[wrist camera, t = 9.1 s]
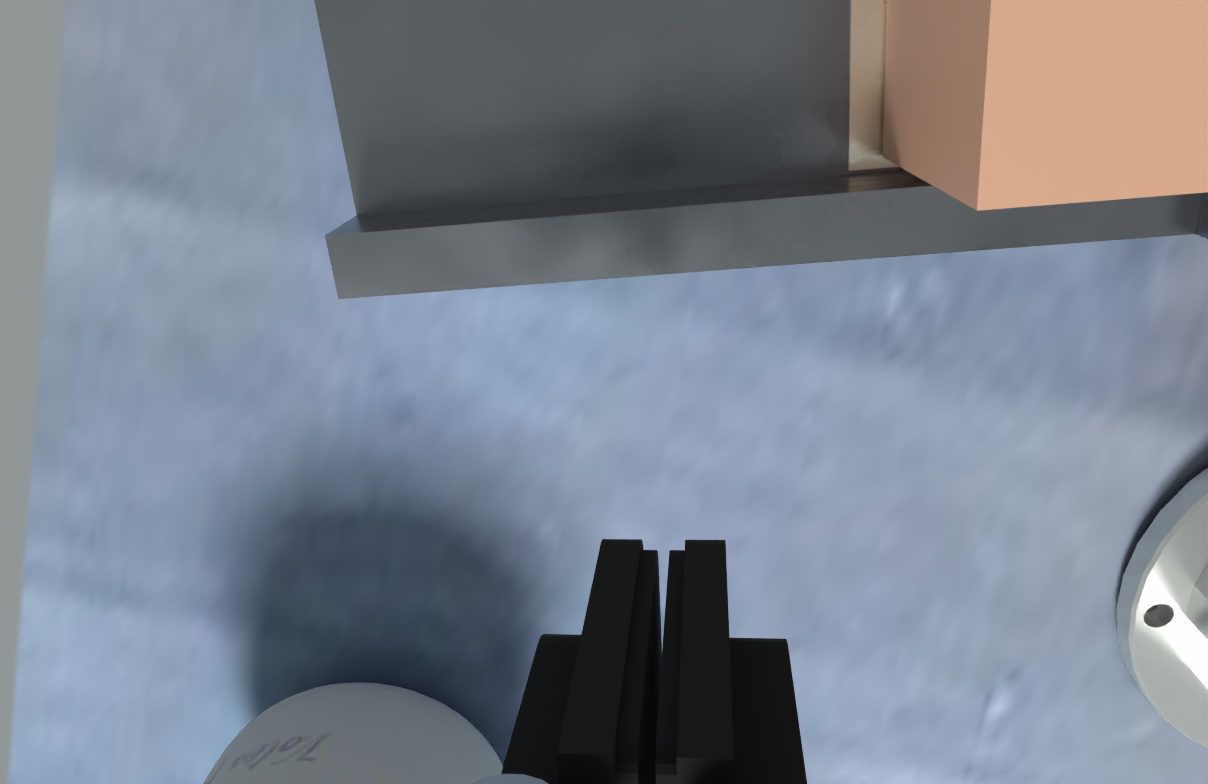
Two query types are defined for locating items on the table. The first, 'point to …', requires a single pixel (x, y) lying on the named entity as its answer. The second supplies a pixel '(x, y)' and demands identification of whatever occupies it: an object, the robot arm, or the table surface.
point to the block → (1048, 98)
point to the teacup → (357, 741)
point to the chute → (642, 145)
